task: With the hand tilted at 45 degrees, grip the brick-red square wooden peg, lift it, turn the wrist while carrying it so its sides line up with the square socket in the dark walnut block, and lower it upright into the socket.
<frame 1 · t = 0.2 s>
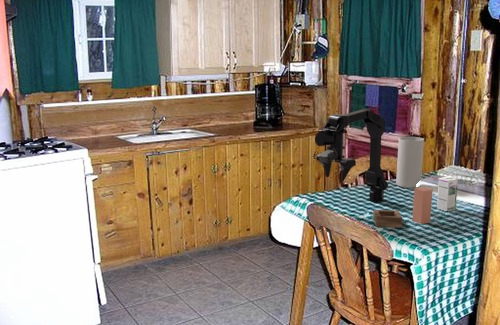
hand: (335, 179, 227), 15 cm above the table, tool pointing down, fingers open, 9 cm apart
syrup box: (446, 209, 232), on the table
socket block: (387, 222, 214), on the table
square peg: (421, 221, 216), on the table
cylinder vase: (408, 185, 273), on the table
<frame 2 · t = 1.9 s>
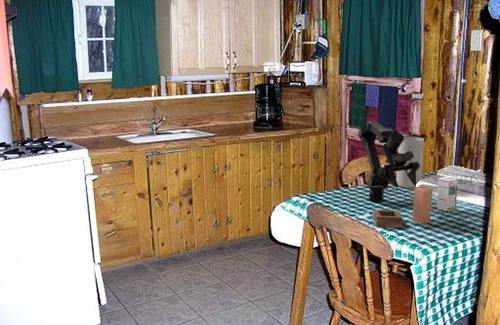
hand: (406, 186, 220), 13 cm above the table, tool tilted 45°, fingers open, 9 cm apart
nothing on the table moved.
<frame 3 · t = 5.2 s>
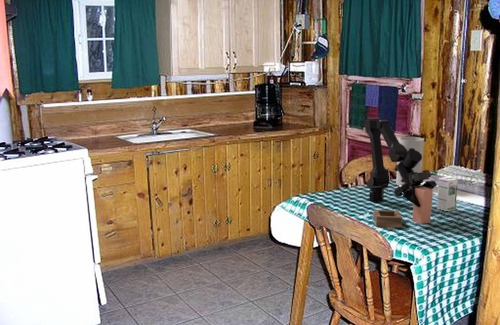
hand: (424, 205, 213), 7 cm above the table, tool tilted 45°, fingers closed on square peg, 5 cm apart
square peg: (421, 221, 216), on the table, touching gripper
everything else where it was.
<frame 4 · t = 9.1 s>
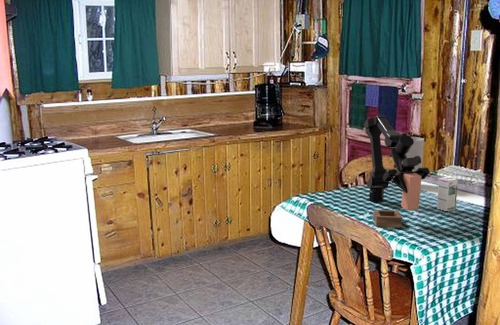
hand: (412, 192, 210), 13 cm above the table, tool tilted 45°, fingers closed on square peg, 5 cm apart
square peg: (409, 207, 213), point 6 cm above the table, touching gripper
everything else where it was.
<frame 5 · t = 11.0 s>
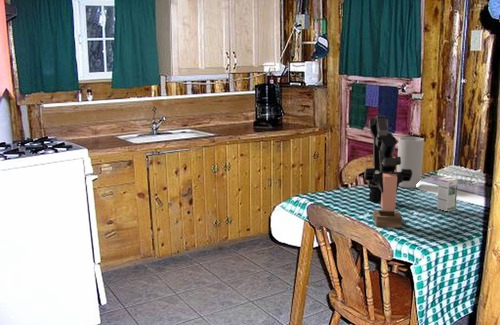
hand: (389, 192, 210), 13 cm above the table, tool tilted 45°, fingers closed on square peg, 5 cm apart
square peg: (387, 208, 213), point 6 cm above the table, touching gripper
everything else where it was.
when the fingers open (9 cm above the table, at t = 12.8 s): square peg stays where it is, resting on socket block.
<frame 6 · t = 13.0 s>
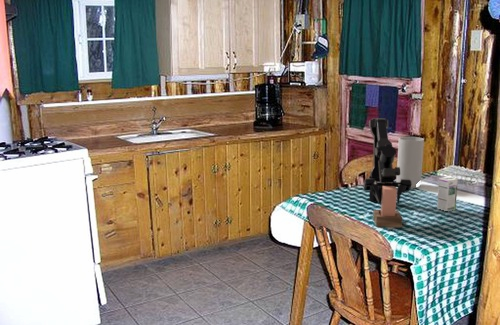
hand: (388, 202, 211), 9 cm above the table, tool tilted 45°, fingers open, 7 cm apart
square peg: (387, 220, 214), point 1 cm above the table, touching socket block
everything else where it was.
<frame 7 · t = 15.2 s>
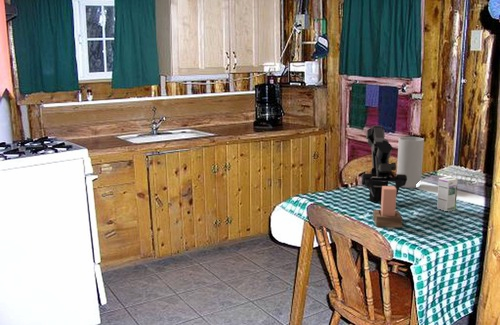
hand: (385, 196, 220), 9 cm above the table, tool tilted 45°, fingers open, 9 cm apart
nothing on the table moved.
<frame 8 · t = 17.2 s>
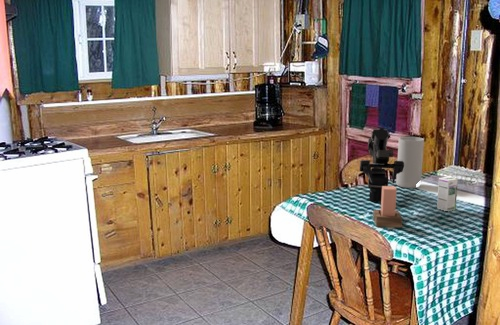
hand: (382, 182, 225), 14 cm above the table, tool tilted 45°, fingers open, 9 cm apart
nothing on the table moved.
at the end: square peg 0.2 cm off-centre on the socket block, point 1.0 cm above the socket block's base; square peg tilted 0°; the gripper is holding nothing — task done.
